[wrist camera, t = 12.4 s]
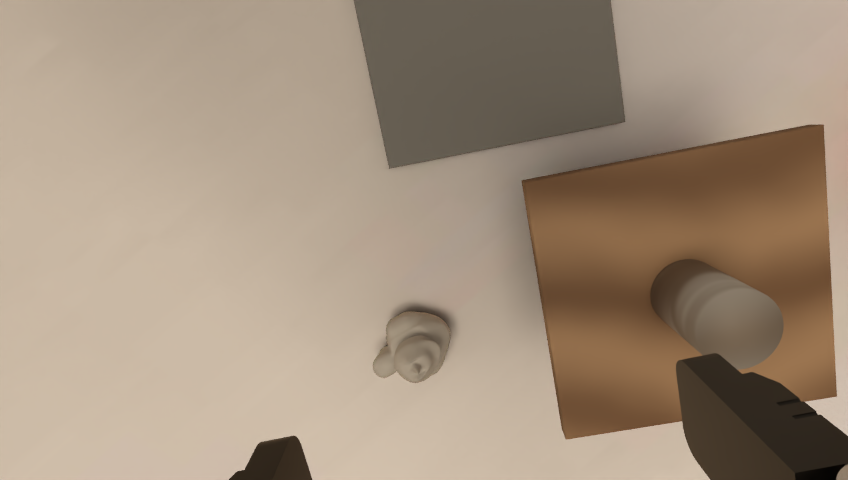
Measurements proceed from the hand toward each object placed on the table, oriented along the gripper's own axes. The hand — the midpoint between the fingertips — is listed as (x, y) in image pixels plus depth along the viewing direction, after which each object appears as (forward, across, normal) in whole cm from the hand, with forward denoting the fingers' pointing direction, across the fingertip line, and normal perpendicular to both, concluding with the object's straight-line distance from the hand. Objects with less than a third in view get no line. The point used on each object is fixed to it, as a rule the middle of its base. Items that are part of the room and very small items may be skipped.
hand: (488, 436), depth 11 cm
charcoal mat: (+32, -5, -12) cm, 35 cm away
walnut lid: (+17, -11, +5) cm, 21 cm away
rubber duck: (+32, +5, +11) cm, 34 cm away
